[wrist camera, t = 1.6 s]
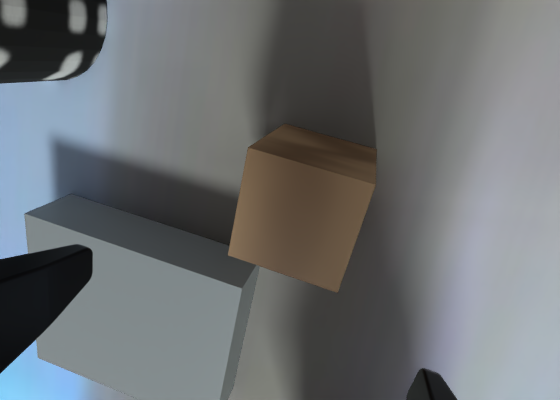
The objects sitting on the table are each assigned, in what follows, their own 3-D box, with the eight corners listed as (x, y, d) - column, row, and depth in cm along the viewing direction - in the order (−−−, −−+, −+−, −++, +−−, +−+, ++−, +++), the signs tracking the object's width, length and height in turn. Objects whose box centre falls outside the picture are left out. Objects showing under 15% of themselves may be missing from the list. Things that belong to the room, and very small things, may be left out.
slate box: (263, 252, 23) (242, 288, 19) (235, 382, 28) (213, 430, 24) (75, 191, 25) (24, 213, 21) (79, 321, 30) (37, 357, 26)
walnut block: (376, 148, 18) (376, 184, 13) (348, 231, 20) (337, 292, 15) (285, 123, 19) (248, 147, 14) (266, 205, 21) (227, 255, 16)
